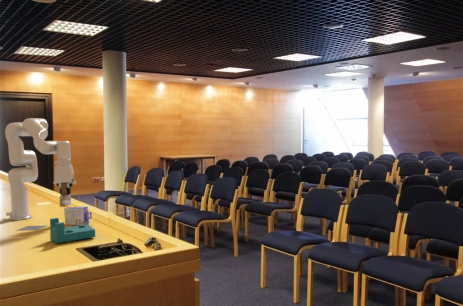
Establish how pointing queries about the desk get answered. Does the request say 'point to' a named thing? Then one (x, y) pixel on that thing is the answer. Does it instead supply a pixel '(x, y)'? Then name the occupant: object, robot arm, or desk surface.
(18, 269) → the desk surface
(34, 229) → the tool mat
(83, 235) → the teal l-shaped bracket
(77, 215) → the ink cartridge box
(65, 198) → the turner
